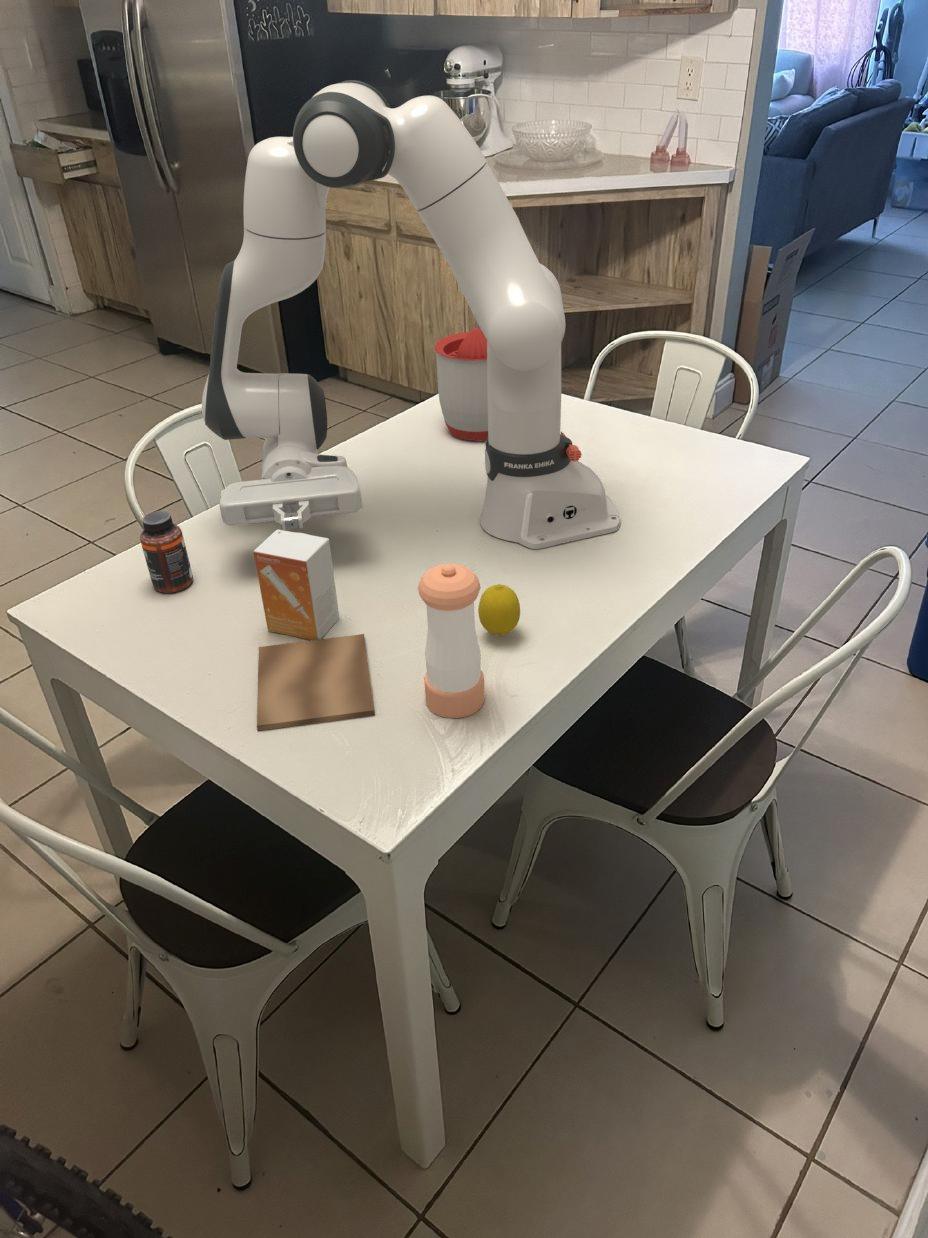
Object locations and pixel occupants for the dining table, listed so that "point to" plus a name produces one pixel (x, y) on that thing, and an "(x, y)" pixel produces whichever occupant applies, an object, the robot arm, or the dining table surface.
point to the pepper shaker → (452, 641)
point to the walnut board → (313, 682)
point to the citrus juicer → (463, 383)
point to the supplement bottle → (165, 553)
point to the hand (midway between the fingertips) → (292, 524)
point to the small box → (297, 584)
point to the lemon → (499, 609)
